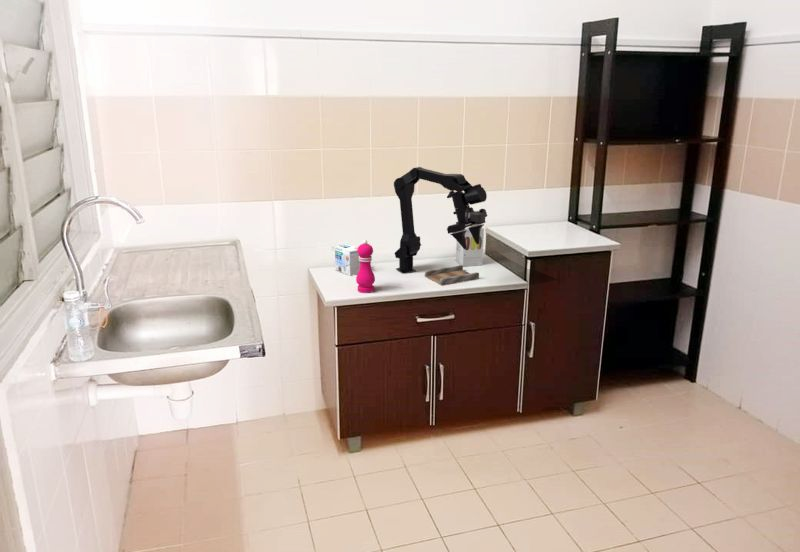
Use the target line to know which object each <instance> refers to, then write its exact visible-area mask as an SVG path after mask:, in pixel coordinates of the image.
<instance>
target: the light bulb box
mask: <svg viewBox="0 0 800 552" xmlns="http://www.w3.org/2000/svg"><path fill="white" fill-rule="evenodd" d="M358 247H359V246H355V245H352V244H350V243H343V244H339V245H335V246H334V254H335V255H334V256H335V258H334V259H335V262H334V264H335V265H334V268H335V271H337V272H340V273H341V274H343V275H347V276H349V277H350V276H355V275H356V276H357V274H358V272H359V269H360V261H359V255H358V253H357V249H358Z"/></svg>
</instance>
